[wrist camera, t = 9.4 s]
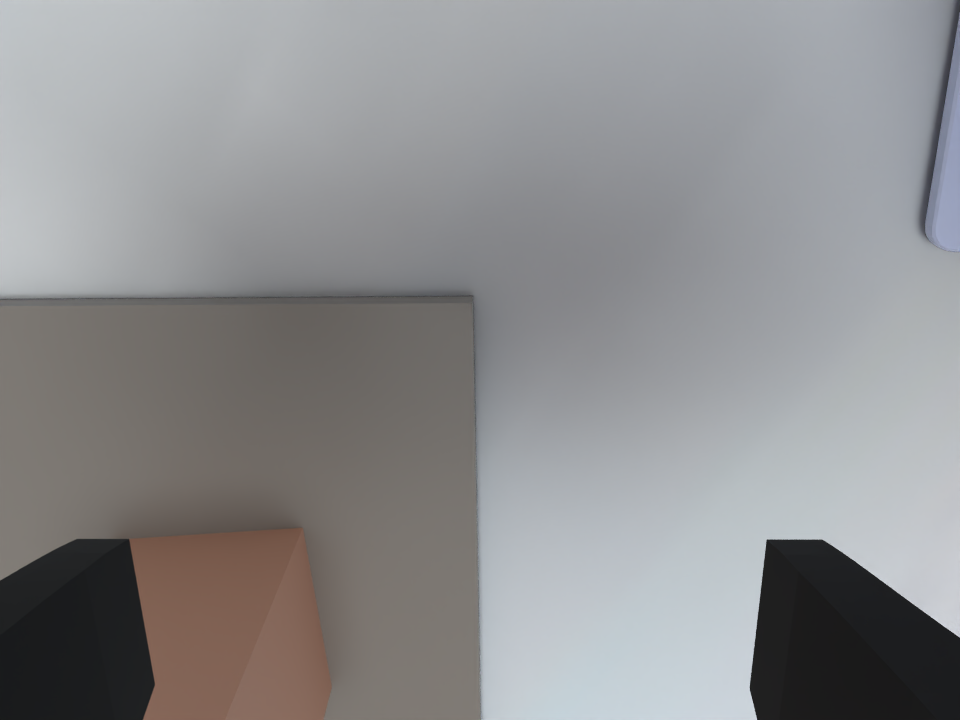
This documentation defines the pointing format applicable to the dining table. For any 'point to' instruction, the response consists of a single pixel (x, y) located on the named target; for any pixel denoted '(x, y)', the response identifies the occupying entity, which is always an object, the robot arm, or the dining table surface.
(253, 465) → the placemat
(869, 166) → the dining table surface
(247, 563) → the terracotta block
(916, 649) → the robot arm
